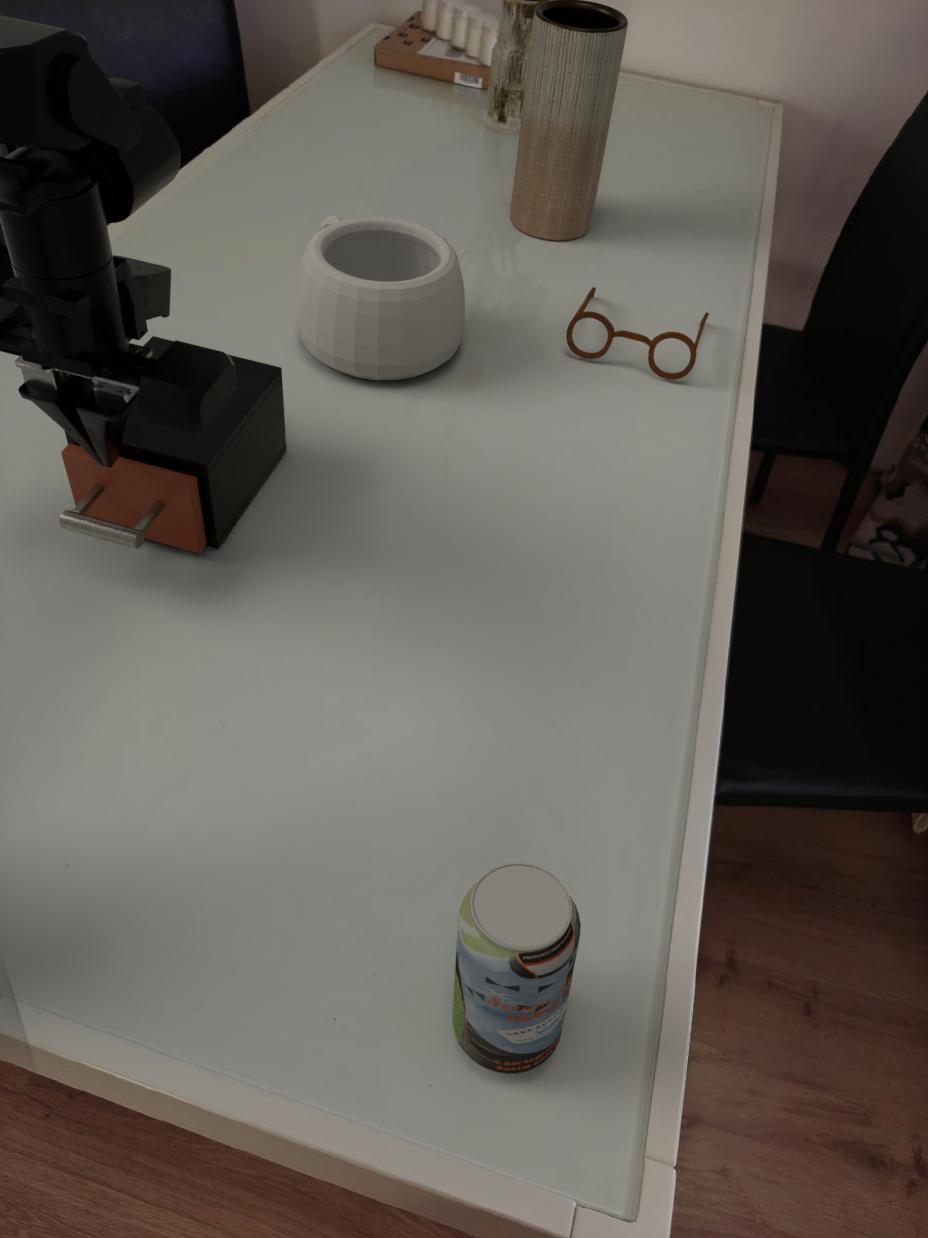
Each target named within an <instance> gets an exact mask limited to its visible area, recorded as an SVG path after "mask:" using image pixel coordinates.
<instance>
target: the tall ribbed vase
mask: <svg viewBox="0 0 928 1238" xmlns="http://www.w3.org/2000/svg"><path fill="white" fill-rule="evenodd" d="M532 19H533V20H532V26H531V36H530V44H529V51H528V52H529V53H528V61H527V62H528V63H527V68H526V69H527V70H526V76H525V85H524V93H523V101H522V110H521V118H520V125H519V137H518V143H517V152H516V160H515V167H514V168H515V169H514V178H513V183H512V185H513V186H512V191H511V192H512V193H511V202H510V215H509V218H510V221H511V223H512V225H514V226H515V227H516V229H518V230H519V231H521V232H522V233H524V234H526V235H528V236H531V237H534V238H537V239H542V240H548V241H570V240H575V239H579V238H580V237H582V236H585V235H586V234H587V233H588V232H589V230H590V229H591V227H592V221H593V217H594V213H595V212H594V211H595V206H596V201H597V197H598V196H597V195H598V190H599V184H600V179H601V174H602V169H603V163H604V158H605V152H606V147H607V141H608V136H609V130H610V126H611V125H610V124H611V120H612V114H613V108H614V104H615V97H616V92H617V86H618V82H619V76H620V70H621V65H622V59H623V54H624V49H625V43H626V38H627V32H628V27H629V21H628V18H627V17H626V15H625V14H624V13H623V12H621V11H620V10H618V9H616V8H614V7H611V6H609V5H606V4H603V3H599V2H596V1H589V0H547V1H544V2H541V3H539V4H538V5H537V6H536V7H535V9H534V11H533V18H532Z"/></svg>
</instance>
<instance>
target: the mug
mask: <svg viewBox="0 0 928 1238" xmlns="http://www.w3.org/2000/svg"><path fill="white" fill-rule="evenodd" d="M296 287H297V288H296V295H295V297H296V299H295V316H296V326H297V330H298V334H299V337H300V340H301V341H302V343H303V345H304V347H305V348H306V350H307V351H308V352H309V353H310V354H311V355H313V356H314V357H315V358H316V359H317V360H318V361H320V362H321V363H323V364H324V365H325V366H328V367H329V368H332V369H334V370H336V371H337V372H339V373H341V374H345V375H349V376H351V377H355V378H358V379H365V380H373V381H399V380H405V379H411V378H415V377H418V376H421V375H425V374H426V373H429V372H432V371H433V370H435V369H437V368H438V367H440V366H441V365H443V364H444V363H446V362H447V361H449V360H450V359H451V358H452V357H453V355H454V354H455V353H456V352H457V350H458V349H459V347H460V343H461V340H462V338H463V334H464V329H465V325H466V296H465V285H464V278H463V273H462V269H461V265H460V261H459V257H458V254H457V253H456V251H455V249H454V247H453V245H451V243H450V242H449V241H448V239H447V238H446V237H445V236H443V235H441V234H440V233H438V232H437V231H436V230H434V229H431V228H429V227H427V226H424V225H423V224H420V223H416V222H412V221H408V220H404V219H399V218H392V217H379V216H378V217H376V216H372V217H371V216H370V217H367V216H366V217H359V218H350V219H345V220H344V219H343V218H342V217H340V216H338V215H333V214H332V215H330V216H327V217H326V218H325V219H324V220H323V221H322V223H321V226H320V230H319V231H318V232H317V233H316V234H315V235H314V236H313V237H312V238H311V239H310V241H309V243H308V245H307V247H306V249H305V251H304V253H303V256H302V260H301V263H300V266H299V272H298V279H297V286H296Z"/></svg>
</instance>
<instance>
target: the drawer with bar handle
mask: <svg viewBox="0 0 928 1238" xmlns="http://www.w3.org/2000/svg"><path fill="white" fill-rule="evenodd" d="M60 455H61V457H62V461H63V466H64V469H65V473H66V476H67V481H68V485H69V488H70V491H71V495H72V498H73V501H74V504H75V507H74V508H73V509H72V510H69V509H65V510H64V511H63V512H62V513H61V514H60V516H59V521H58V522H59V527H60V528H61V529H63V530H66V531H70V532H75V533H78V534H81V535H85V536H88V537H92V538H96V539H100V540H103V541H105V542H106V541H107V542H110V543H114V544H117V545H122V546H124V547H128V548H132V549H136V550H139V549H141V548H142V547H143V544H144V541H145V540H150V541H153V542H157V543H161V544H164V545H168V546H172V547H174V548H179V549H182V550H186V551H190V552H194V553H197V554H201V553H202V551H203V550H204V549H205V547H206V544H207V542H206V536H205V529H204V528H206V520H205V513H204V507H203V500H202V493H201V486H200V479H199V473H198V470H194V469H191V468H187V467H183V466H179V465H175V464H172V463H168V462H164V461H160V460H156V459H153V458H149V457H145V456H141V455H137V454H134V453H130V452H126V451H122V450H120V451H119V456H118V459H117V461H116V462H115V464H114V465H113V466H112V467H111V468H108V467H104V466H100V465H99V464H98V463H97V462H96V461H95V460H94V459H93V458H92V457H91V456H90V455H89V454H88V453H87V452H86V451H85V450H84V449H83V448H82V447H81V446H77V445H74V444H68V443H67V445H66V446H65V447H64V449H62V450H61V452H60Z"/></svg>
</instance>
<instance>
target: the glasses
mask: <svg viewBox="0 0 928 1238" xmlns="http://www.w3.org/2000/svg"><path fill="white" fill-rule="evenodd" d="M595 294H596V287H595V286H592V287H591V288H590V290H589V292H588V293H587V295H586V297H585V299H584V301H583V302H582V303H581V305H580V307H579V308H578V309H577V311H576V313H574V316H573V317H572V318H571V320H570V322H569V323H568V325H567V329H566V334H565V337H566V339H565V340H566V343H567V346H568V349H569V350H570V351H571V352H572V353H573V354H574V355H576V356H578V357H579V358H581V359H585V360H586V359H587V360H597V359H600V358H602V357H603V356H605V355H606V354H607V352H608V351H609V350H610V347H611V345H612V344H613V340H614V338H624V339H628V340H631V341H632V340H633V341H636V342H641V343H644V344H645V345H647V346H648V347H649V348H648V355H647V361H648V366H649V369H650V370H651V372H653V374H655V375H656V376H658V377H660V378H662V379H665V380H672V381H674V380H680V379H683V378H684V377H686V376H687V375H689V374H690V373H691V371H692V370H693V368H694V366H695V363H696V361H697V350H698V347H699V343H700V340H701V337H702V334H703V330H704V328H705V325H706V322H707V320H708V318H709V315H710V312H707V311H706V312H705V313H704V315H703V317H702V318H701V320H700V322H699V325H700V326H699V329H698V331H697V335H696V338H695V341H693V340H692V338H690V336H688V335H686V334H684V333H681V332H677V331H666V332H662V333H660V334H658V335H656V336H654V337H653V338H652V340H651V339H650V338H649V337H648V336H646V335H644V334H641V333H638V332H632V331H629V330H624V329H623V330H622V329H621V330H617V331H616V330H615V327H614V326H613V323H612V322H611V321H610V320H609V319H608V318H607V317H606V316H605V315H603V314H601V313H599V312H596V311H592V310H591V311H585V310H586V308H587V307H588V305H589V303H590V301H591V299H594V296H595ZM584 319H593V320H596V321H598V322H600V323H601V324H602V325H603V326H604V328H605V329H606V331H607V332H606V333H607V339H606V342H605V344H604V346H603V347H602V348H601V349H599V350H598V351H595V352H587V351H584V350H582V349H580V348H579V347H578V346H577V345H576V344H575V343H574V339H573V332H574V328H575V326H576V324H577V323H578V322H580V321H581V320H584ZM668 339H674V340H675V339H676V340H679V341H681V342H683V343H684V344H685V345H686V346H687V347H688V350H689V353H690V356H689V360H688V364H687V366H686V367H684V369H682V370H680V371H678V372H667V371H664V370H662V369H661V368H660V367H659V366H658V365H657V364H656V362H655V350H656V347H657V345H658V344H659V343H661V342H662V341H664V340H668Z"/></svg>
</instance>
